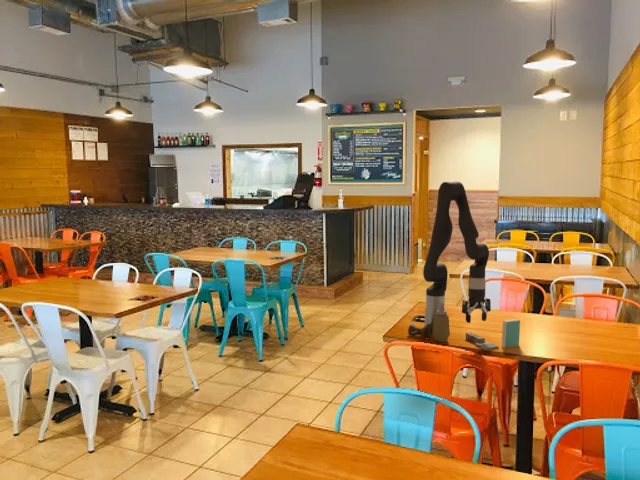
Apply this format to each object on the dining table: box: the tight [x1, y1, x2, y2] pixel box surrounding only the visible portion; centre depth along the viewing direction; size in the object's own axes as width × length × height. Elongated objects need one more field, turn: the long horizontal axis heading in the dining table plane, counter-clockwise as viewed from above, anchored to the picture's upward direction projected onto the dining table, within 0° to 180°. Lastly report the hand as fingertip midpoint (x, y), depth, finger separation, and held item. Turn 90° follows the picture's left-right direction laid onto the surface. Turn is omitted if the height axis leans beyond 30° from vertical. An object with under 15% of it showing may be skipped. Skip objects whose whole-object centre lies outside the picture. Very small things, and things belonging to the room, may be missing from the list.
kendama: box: [407, 322, 434, 340], centre depth 260 cm, size 6×10×20 cm
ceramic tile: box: [501, 318, 521, 348], centre depth 244 cm, size 2×8×12 cm, turn 111°
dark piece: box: [465, 332, 500, 351], centre depth 247 cm, size 17×7×3 cm, turn 21°
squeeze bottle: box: [432, 303, 451, 343], centre depth 251 cm, size 8×8×18 cm
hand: (476, 321), depth 249 cm, fingers open, 8 cm apart
